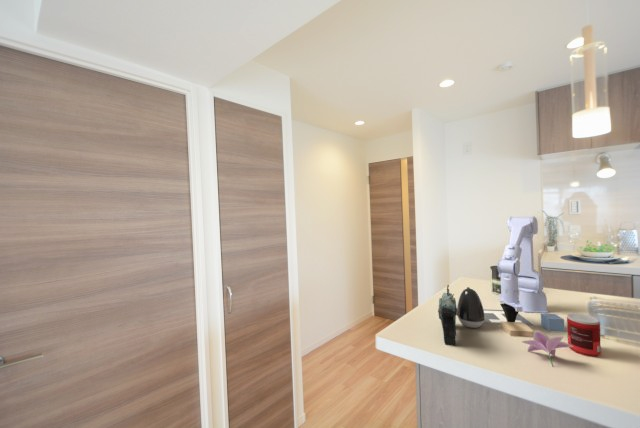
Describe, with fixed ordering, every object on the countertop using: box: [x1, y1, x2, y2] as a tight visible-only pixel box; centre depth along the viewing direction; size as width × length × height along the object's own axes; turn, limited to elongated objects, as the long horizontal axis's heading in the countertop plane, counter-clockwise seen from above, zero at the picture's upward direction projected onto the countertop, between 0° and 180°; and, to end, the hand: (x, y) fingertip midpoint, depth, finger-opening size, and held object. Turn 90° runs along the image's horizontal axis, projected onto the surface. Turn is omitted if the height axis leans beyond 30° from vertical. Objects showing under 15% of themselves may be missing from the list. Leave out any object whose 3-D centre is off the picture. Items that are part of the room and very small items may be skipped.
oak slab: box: [500, 321, 535, 338], centre depth 101 cm, size 8×8×2 cm
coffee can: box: [489, 265, 501, 296], centre depth 146 cm, size 10×10×14 cm
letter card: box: [483, 308, 536, 327], centre depth 115 cm, size 18×16×1 cm
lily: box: [521, 330, 573, 367], centre depth 82 cm, size 12×12×10 cm
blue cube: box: [540, 313, 565, 333], centre depth 102 cm, size 5×5×5 cm
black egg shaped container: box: [456, 287, 485, 329], centre depth 108 cm, size 10×10×15 cm
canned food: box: [566, 312, 602, 358], centre depth 86 cm, size 8×8×11 cm
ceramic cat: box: [437, 284, 457, 347], centre depth 101 cm, size 20×6×20 cm, turn 154°
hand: (510, 322), depth 106 cm, fingers closed
